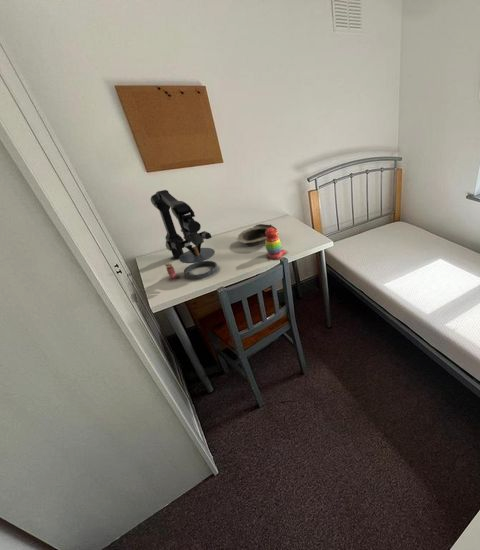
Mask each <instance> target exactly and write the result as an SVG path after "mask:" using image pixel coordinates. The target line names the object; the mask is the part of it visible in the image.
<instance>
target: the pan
mask: <svg viewBox="0 0 480 550" xmlns="http://www.w3.org/2000/svg"><path fill="white" fill-rule="evenodd" d="M202 266H213V268H212V269H210V270H208V271H207V272H202V273H198V274H189V272H191V271H192V270H194V269H196V268H200V267H202ZM218 270H219V266H218V264H217V262H216V261H213V260H204V261H201V262H197V263H191V264H190V265H187V266H186V267H185V268H184V270H183V274H184V276H185V278H186V279H188V280H192V281H193V280H195V281H197V280H202V279H207V278H209V277H211V276H213V275H215V274H216V273H217V272H218Z"/></svg>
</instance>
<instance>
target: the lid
mask: <svg viewBox="0 0 480 550" xmlns="http://www.w3.org/2000/svg"><path fill="white" fill-rule="evenodd" d="M192 248H193V250H194V253H195V256H194V255H193V254H192V253H191V252H190V251H189V250H187V251H185V252H184V253H183V254H182V255H181V256H180V257H179V259H178V261H179V262H180V263H182V264H194V263H197V262H201V261H208V260H209V259H211V258H212V257H213V256H214V255H215V254H216V250H215V249H213V248H210V247H201V250H200V254H199V251H198V248H197V247H196V246H195V245H194V246H192Z"/></svg>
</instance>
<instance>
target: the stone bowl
mask: <svg viewBox="0 0 480 550" xmlns="http://www.w3.org/2000/svg"><path fill="white" fill-rule="evenodd" d="M270 227H272V228H274V229H276V230H277V228H276V227H275V226H274V225H272V224H264V223H259V224H255V225H254V226H253V227H249V228H246V229H245V230H242V231H241V232H240V233H239V234H238V235H237V241H238V242H240V243H243V244H246V245H247V246H249V247H254V246H259V245H263V244H264V243H265V241H266V238H267V236H266V234H265V231H266V230H267V229H268V228H270ZM277 231H278V230H277Z"/></svg>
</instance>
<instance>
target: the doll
mask: <svg viewBox="0 0 480 550" xmlns="http://www.w3.org/2000/svg"><path fill="white" fill-rule="evenodd" d="M164 266H165V267H166V268H165V270H166V272H167V275H168V277H169V280H170V281H171V280H172V281H173V280H177V279H178V278H179V276H178V275H177V273H176V270H175V268H174V266H173V264H172V262H170V261H167V262H165V263H164Z"/></svg>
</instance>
